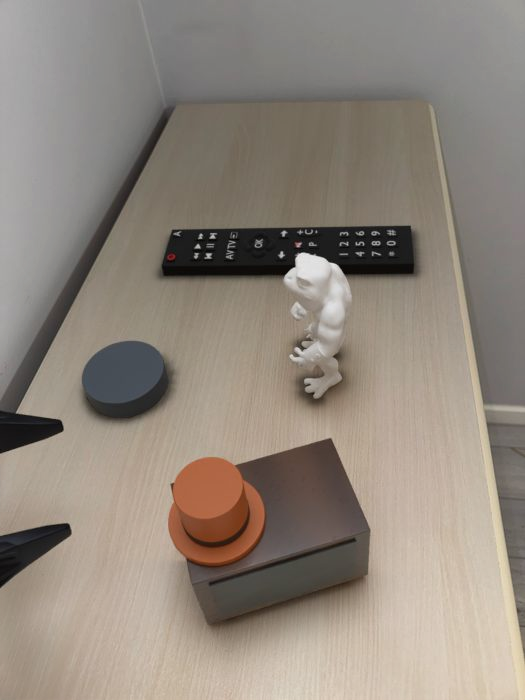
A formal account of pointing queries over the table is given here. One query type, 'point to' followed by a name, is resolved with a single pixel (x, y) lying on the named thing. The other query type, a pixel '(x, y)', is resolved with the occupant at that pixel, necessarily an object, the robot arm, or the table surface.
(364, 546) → the brown lidded box
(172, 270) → the remote control
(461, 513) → the table surface
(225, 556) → the orange top hat
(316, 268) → the figurine
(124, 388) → the stand
